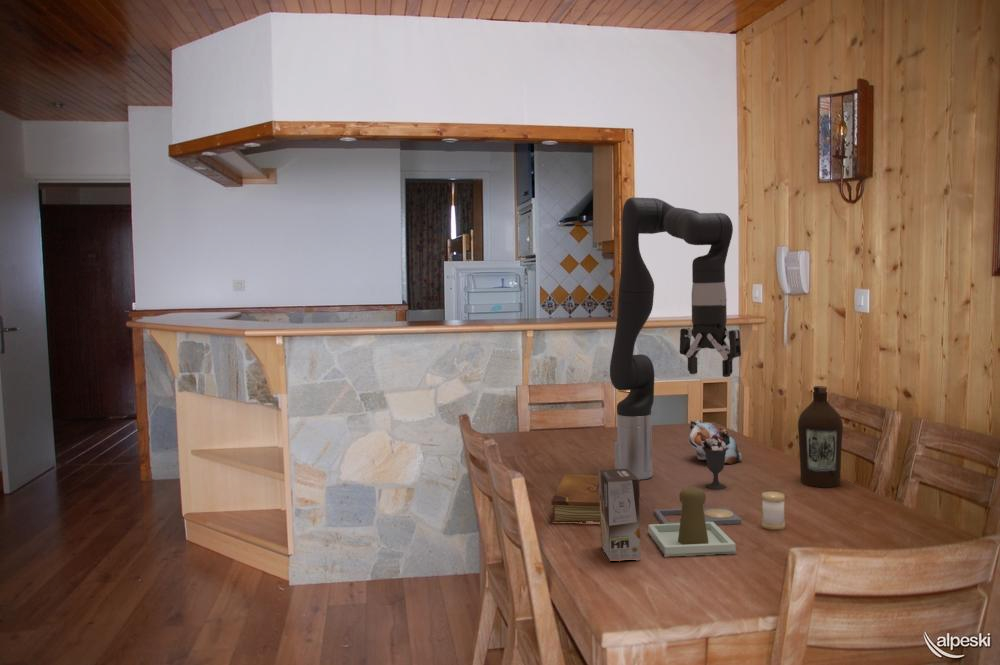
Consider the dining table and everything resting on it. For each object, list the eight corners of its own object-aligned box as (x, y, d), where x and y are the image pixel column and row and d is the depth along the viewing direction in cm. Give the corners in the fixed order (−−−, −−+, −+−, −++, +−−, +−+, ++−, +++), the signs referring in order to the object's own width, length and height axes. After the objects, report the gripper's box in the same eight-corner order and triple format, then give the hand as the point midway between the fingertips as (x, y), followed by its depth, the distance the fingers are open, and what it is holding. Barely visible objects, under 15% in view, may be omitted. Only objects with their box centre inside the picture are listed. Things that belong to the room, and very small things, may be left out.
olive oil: (796, 476, 206) (796, 383, 204) (840, 478, 203) (840, 384, 201) (799, 487, 196) (799, 389, 194) (845, 489, 193) (845, 390, 191)
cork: (709, 547, 154) (708, 493, 153) (678, 546, 155) (677, 492, 154) (707, 537, 160) (706, 484, 159) (677, 536, 161) (676, 484, 160)
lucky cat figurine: (746, 465, 220) (728, 425, 215) (706, 480, 222) (688, 442, 218) (734, 439, 234) (717, 401, 229) (696, 454, 236) (679, 417, 232)
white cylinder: (758, 526, 167) (757, 494, 167) (768, 521, 170) (768, 490, 170) (778, 531, 164) (778, 498, 163) (788, 526, 167) (788, 494, 167)
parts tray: (648, 533, 165) (648, 524, 165) (713, 530, 166) (713, 521, 165) (665, 557, 151) (664, 547, 151) (735, 554, 152) (735, 544, 151)
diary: (636, 529, 170) (635, 503, 170) (551, 526, 174) (551, 501, 174) (639, 498, 193) (639, 475, 192) (565, 496, 197) (564, 473, 196)
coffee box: (641, 560, 150) (640, 479, 149) (609, 562, 149) (607, 481, 148) (629, 544, 159) (628, 467, 158) (599, 546, 158) (597, 469, 157)
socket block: (665, 528, 168) (664, 522, 168) (653, 514, 178) (653, 509, 178) (742, 524, 169) (741, 519, 169) (726, 510, 179) (726, 505, 179)
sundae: (731, 484, 201) (730, 427, 200) (727, 491, 195) (726, 432, 194) (705, 482, 204) (704, 425, 203) (700, 488, 198) (699, 430, 196)
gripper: (672, 303, 175) (673, 374, 177) (728, 304, 165) (729, 379, 166) (691, 302, 180) (692, 371, 182) (746, 302, 170) (747, 375, 171)
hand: (709, 375), depth 174 cm, fingers open, 8 cm apart
